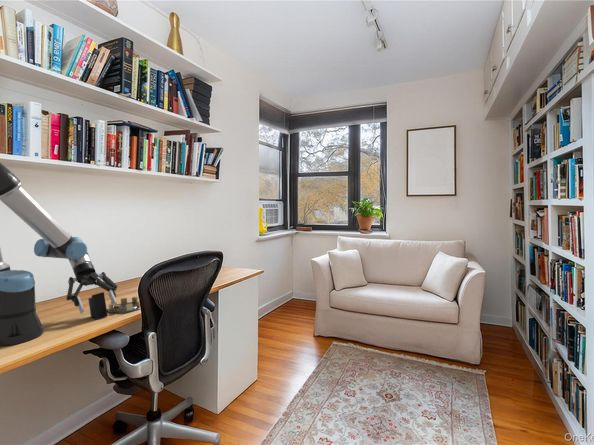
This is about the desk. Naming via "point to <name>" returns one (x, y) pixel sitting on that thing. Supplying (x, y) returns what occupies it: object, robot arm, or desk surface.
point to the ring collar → (124, 306)
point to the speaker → (98, 306)
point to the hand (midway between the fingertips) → (99, 307)
